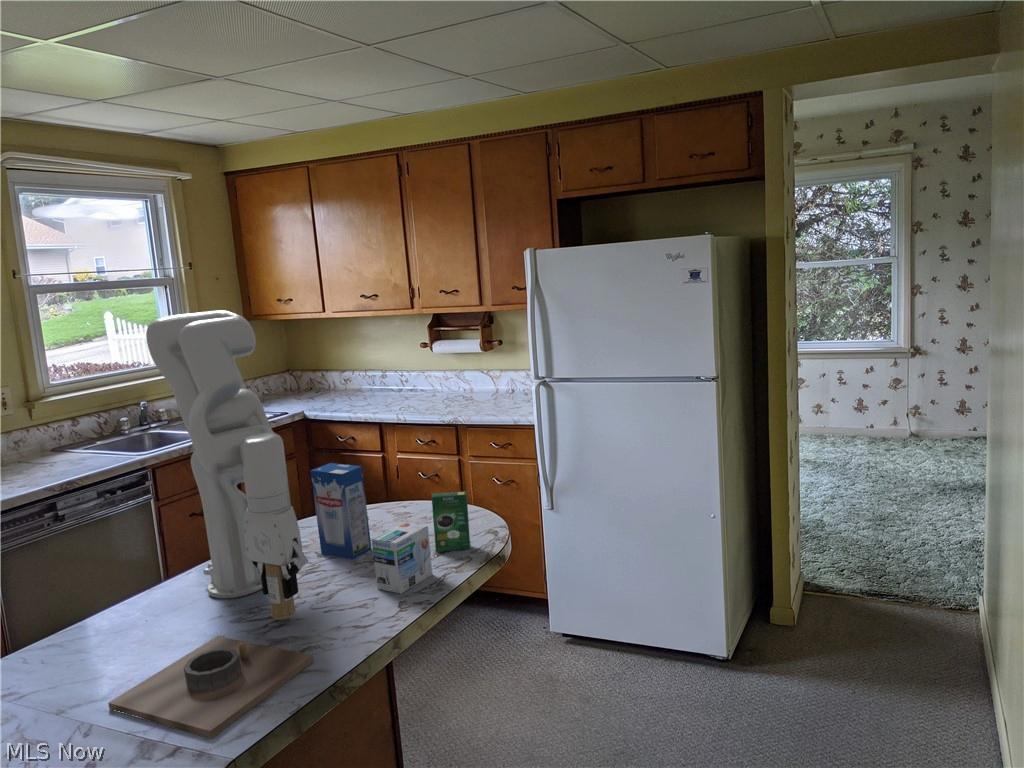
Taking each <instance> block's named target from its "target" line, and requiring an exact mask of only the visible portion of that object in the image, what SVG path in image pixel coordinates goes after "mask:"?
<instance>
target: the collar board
mask: <svg viewBox="0 0 1024 768" xmlns="http://www.w3.org/2000/svg"><path fill="white" fill-rule="evenodd" d="M313 663H314V656H313V654H308V653H305V652H298V651H294V650H289V649H284V648H279V647H275V646H268V645H265V644H259V643H256V642H255V643H254V642H250V641H249V642H248V641H245V640H241V639H240V640H239V639H235V638H229V637H225V636H221V635H217V636H214V638H212V639H210V640H208V641H206V642H205V643H203V644H202V645H201V646H198V647H197V648H196V649H194V650H192V651H191V652H189V653H187V654H186V655H184V656H182V657H180V658H179V659H177V660H176V661H174V662H172V663H171V664H169V665H168V666H166V667H164V668H162V669H161V670H160V671H158V672H156V673H155V674H152V675H151V676H149V677H148V678H146V679H145V680H143V681H141V682H140V683H138V684H137V685H135V686H133V687H132V688H129V690H127V691H125V692H124V693H122V694H120V695H118V696H117V697H115V698H113V699H112V700H110V701H109V702H108V708H109V710H110V709H112V710H116V711H120V712H124V713H127V714H130V715H134V716H138V717H141V718H144V719H146V720H145V721H147V720H150V721H149V722H151V721H152V722H151V723H154V722H156V723H155V724H158V723H159V724H158V725H161V724H163V725H162V726H165V725H166V726H165V727H168V726H169V727H168V728H172V729H176V730H180V731H183V732H186V733H190V734H192V735H193V734H194V735H197V736H201V737H203V736H204V738H208V739H213V738H215V737H216V736H217V735H219V734H220V733H221V732H222V731H224V730H225V729H227V728H228V727H229V726H231V725H232V724H233V723H235V722H236V721H237V720H239V719H240V718H241V717H242V716H244V715H245V714H247V713H248V712H249V711H251V710H252V709H253V708H255V707H256V706H257V705H258V704H260V703H261V702H262V701H263V700H265V699H266V698H268V697H269V696H271V694H273V693H274V692H275V691H277V690H278V689H280V688H281V687H282V686H284V684H286V683H288V681H290V680H292V678H294V677H295V676H297V675H298V674H300V672H302V671H304V670H305V669H306V668H307V667H308V666H310V665H311V664H313ZM112 710H111V711H112ZM116 711H115V712H116ZM130 715H129V716H130ZM144 719H143V720H144Z"/></svg>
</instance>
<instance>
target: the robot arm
mask: <svg viewBox="0 0 1024 768" xmlns="http://www.w3.org/2000/svg"><path fill="white" fill-rule="evenodd" d="M145 335H146V336H145V337H146V343H147V348H148V351H149V354H150V357H151V359H152V361H153V362H154V364H155V366H156V368H157V369H158V371H159V372H160V374H161V375H162V376H163V377H164V379H165V380H166V381H167V383H168V384H169V386H170V389H171V391H172V392H173V397H174V399H175V402H176V405H177V407H178V410H179V414H180V416H181V418H182V421H183V422H182V423H183V425H184V427H185V429H186V431H187V433H188V435H189V438H190V441H191V443H192V446H193V448H194V451H193V453H192V454H191V456H190V467H191V470H192V474H193V477H194V480H195V482H196V485H197V489H198V492H199V496H200V500H201V506H202V510H203V516H204V523H205V528H206V536H207V542H208V549H209V555H210V556H209V557H210V560H211V561H210V562H209V563H208V564H207V567H205V568H204V569H203V575H205V576H210V578H211V579H210V581H211V582H209V584H208V585H207V594H208V595H209V596H210V597H213V598H217V599H233V598H239V597H243V596H248V595H250V594H253V593H256V592H258V591H260V590H262V595H263V596H264V595H265V596H268V595H269V593H268V586H267V579H266V569H265V564H271V565H277V566H281V569H282V572H283V575H284V578H283V579H282V585H283V593H284V598H285V599H289V598H291V597H292V596H293V597H294V596H295V595H297V594H298V593H299V585H298V579H297V575H298V574H299V573H300V570H301V569H302V568H303V567H304V566H306V565H307V564H308V563H309V559H308V558H307V556H306V555H305V553H304V552H303V544H302V538H301V532H300V527H299V524H298V519H297V515H296V513H295V510H294V507H293V506H292V502H291V494H290V488H289V480H288V471H287V464H286V455H285V447H284V440H283V438H282V437H281V436H280V435H279V434H277V433H275V432H274V431H273V429H272V426H271V424H270V422H269V419H268V416H267V414H266V411H265V409H264V406H263V404H262V402H261V400H260V398H259V396H258V395H257V394H256V393H255V392H254V391H252V390H251V389H248V388H243V384H244V378H243V377H242V374H241V372H240V370H239V368H238V365H237V363H236V360H235V358H240V357H241V358H242V357H248V356H250V355H252V354H253V353H254V351H255V349H256V345H257V344H256V343H257V342H256V335H255V332H254V330H253V327H252V325H251V324H250V322H249V321H248V320H247V319H246V318H245V317H244V316H242V315H239V314H237V313H234V312H231V311H229V310H223V309H221V310H220V309H219V310H208V311H200V312H199V311H198V312H191V313H181V314H173V315H168V316H164V317H160V318H158V319H155V320H153V321H152V322H150V324H149V325H148V326H147V328H146V334H145ZM240 483H244V489H245V493H244V492H243V491H242V490H241V489H239V488H238V487H237V485H239V484H240ZM288 564H289V568H288Z"/></svg>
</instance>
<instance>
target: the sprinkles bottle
mask: <svg viewBox="0 0 1024 768" xmlns="http://www.w3.org/2000/svg"><path fill="white" fill-rule="evenodd" d="M288 568H289V569H290V563H289V564H288ZM265 569H266V579H267V586H268V593H269V594H268V599H269V603H270V609H271V613H270V615H271V618H273V619H275V620H284V619H288V618H291V617H292V616H293V615H295V613H297V611H296V606H295V599H294V596H292V597H291V598H289V599H285V598H284V593H283V585H282V579H283V578H284V575H283V572H282V569H281V566H277V565H271V564H265Z"/></svg>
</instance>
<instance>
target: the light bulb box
mask: <svg viewBox="0 0 1024 768" xmlns="http://www.w3.org/2000/svg"><path fill="white" fill-rule="evenodd" d="M370 541H371V549H372V555H373V556H372V557H373V564H374V571H375V573H374V574H375V581H376V589H378V590H381V589H382V591H387V592H390V591H391V592H390V593H396V594H399V593H400V595H401V594H403V593H405V592H407V591H408V590H410V589H411V588H414V587H415V586H417V585H418V584H420V583H421V582H423V581H424V580H426V579H428V578H429V577H431V576H432V575H433V568H432V567H433V566H432V565H433V563H432V556H431V555H432V554H431V546H430V537H429V527H428V525H423V524H416V523H411V522H405V521H404V522H402V523H400V524H398V525H397V526H394V527H392V528H391V529H390V528H389V530H386V531H384V532H383V533H381V534H379V535H377V536H375V537H373V538H370ZM427 577H428V578H427ZM419 582H420V583H419ZM409 588H410V589H409ZM406 590H407V591H406Z"/></svg>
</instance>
